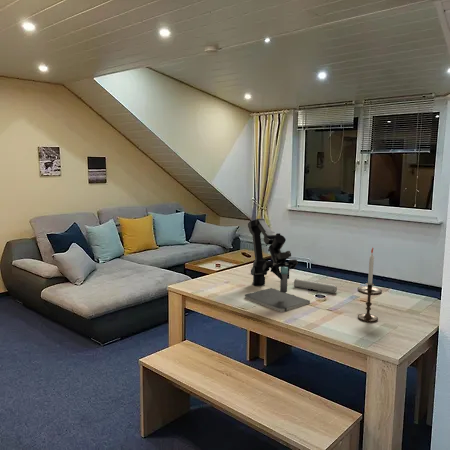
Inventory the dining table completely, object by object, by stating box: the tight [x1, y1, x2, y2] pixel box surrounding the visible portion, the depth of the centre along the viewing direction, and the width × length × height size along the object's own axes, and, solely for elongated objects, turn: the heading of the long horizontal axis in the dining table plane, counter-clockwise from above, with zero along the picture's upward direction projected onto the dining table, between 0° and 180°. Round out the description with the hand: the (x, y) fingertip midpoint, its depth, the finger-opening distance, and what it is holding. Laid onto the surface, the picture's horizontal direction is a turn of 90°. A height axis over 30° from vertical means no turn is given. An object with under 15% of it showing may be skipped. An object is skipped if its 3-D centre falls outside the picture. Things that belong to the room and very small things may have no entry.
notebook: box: [244, 287, 311, 313], centre depth 224 cm, size 22×2×28 cm
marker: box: [279, 267, 288, 293], centre depth 219 cm, size 4×4×13 cm
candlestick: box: [356, 247, 383, 323], centre depth 197 cm, size 11×11×35 cm
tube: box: [293, 278, 338, 294], centre depth 244 cm, size 5×5×25 cm
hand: (285, 279), depth 218 cm, fingers closed on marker, 4 cm apart
